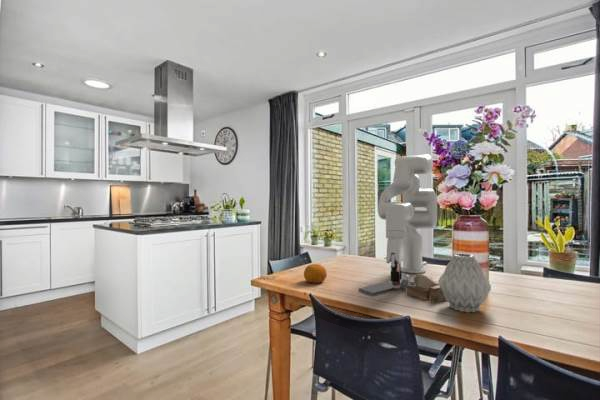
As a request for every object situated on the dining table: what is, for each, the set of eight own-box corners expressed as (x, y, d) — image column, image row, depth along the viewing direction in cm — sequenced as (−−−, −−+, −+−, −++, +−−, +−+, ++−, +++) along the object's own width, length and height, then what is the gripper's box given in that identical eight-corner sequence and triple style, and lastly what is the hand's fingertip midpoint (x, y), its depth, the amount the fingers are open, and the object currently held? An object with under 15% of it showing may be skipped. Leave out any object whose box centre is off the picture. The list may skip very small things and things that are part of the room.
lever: (400, 277, 143) (400, 253, 143) (413, 278, 141) (413, 254, 141) (389, 289, 125) (389, 262, 125) (404, 291, 123) (404, 263, 122)
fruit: (327, 285, 140) (327, 267, 140) (303, 285, 140) (303, 267, 140) (326, 278, 151) (325, 262, 151) (304, 279, 151) (303, 262, 151)
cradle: (426, 288, 133) (426, 276, 133) (454, 295, 123) (454, 283, 122) (406, 293, 126) (406, 281, 126) (435, 302, 115) (434, 288, 115)
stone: (436, 294, 128) (445, 278, 123) (434, 306, 123) (443, 290, 118) (411, 283, 132) (418, 266, 126) (407, 294, 127) (415, 278, 121)
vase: (428, 303, 114) (428, 252, 114) (465, 298, 119) (464, 249, 119) (463, 320, 99) (462, 261, 99) (504, 314, 103) (503, 257, 103)
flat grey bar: (400, 280, 145) (400, 275, 145) (415, 284, 138) (415, 279, 138) (358, 291, 130) (358, 285, 130) (373, 295, 124) (373, 289, 124)
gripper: (390, 231, 134) (391, 274, 134) (381, 236, 120) (381, 284, 120) (409, 232, 131) (409, 276, 131) (401, 237, 116) (401, 286, 116)
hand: (396, 279), depth 125 cm, fingers closed on lever, 3 cm apart
